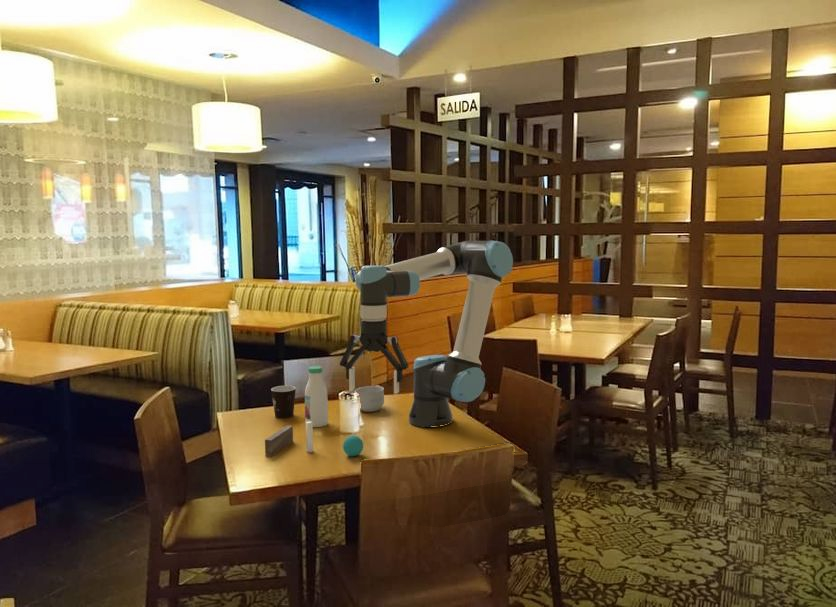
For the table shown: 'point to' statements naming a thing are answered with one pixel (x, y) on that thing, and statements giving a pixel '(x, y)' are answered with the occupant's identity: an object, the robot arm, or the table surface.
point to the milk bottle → (316, 398)
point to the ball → (353, 445)
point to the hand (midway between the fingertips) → (374, 391)
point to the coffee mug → (283, 401)
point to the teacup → (371, 398)
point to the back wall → (278, 441)
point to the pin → (309, 437)
